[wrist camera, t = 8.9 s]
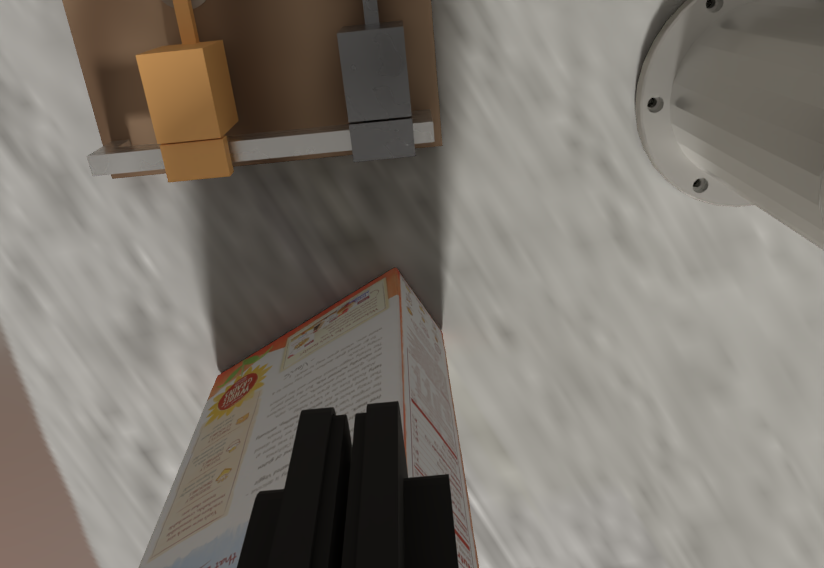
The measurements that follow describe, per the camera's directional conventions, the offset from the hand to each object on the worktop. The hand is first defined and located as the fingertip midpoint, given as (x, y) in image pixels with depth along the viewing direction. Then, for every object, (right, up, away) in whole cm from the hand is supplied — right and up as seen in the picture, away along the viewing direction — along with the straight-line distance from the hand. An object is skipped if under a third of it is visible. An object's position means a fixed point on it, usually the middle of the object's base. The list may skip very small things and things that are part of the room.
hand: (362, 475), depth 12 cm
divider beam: (-7, +15, +23) cm, 29 cm away
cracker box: (-4, -1, +33) cm, 33 cm away
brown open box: (-7, +16, +25) cm, 30 cm away
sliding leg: (-10, +14, +23) cm, 29 cm away
